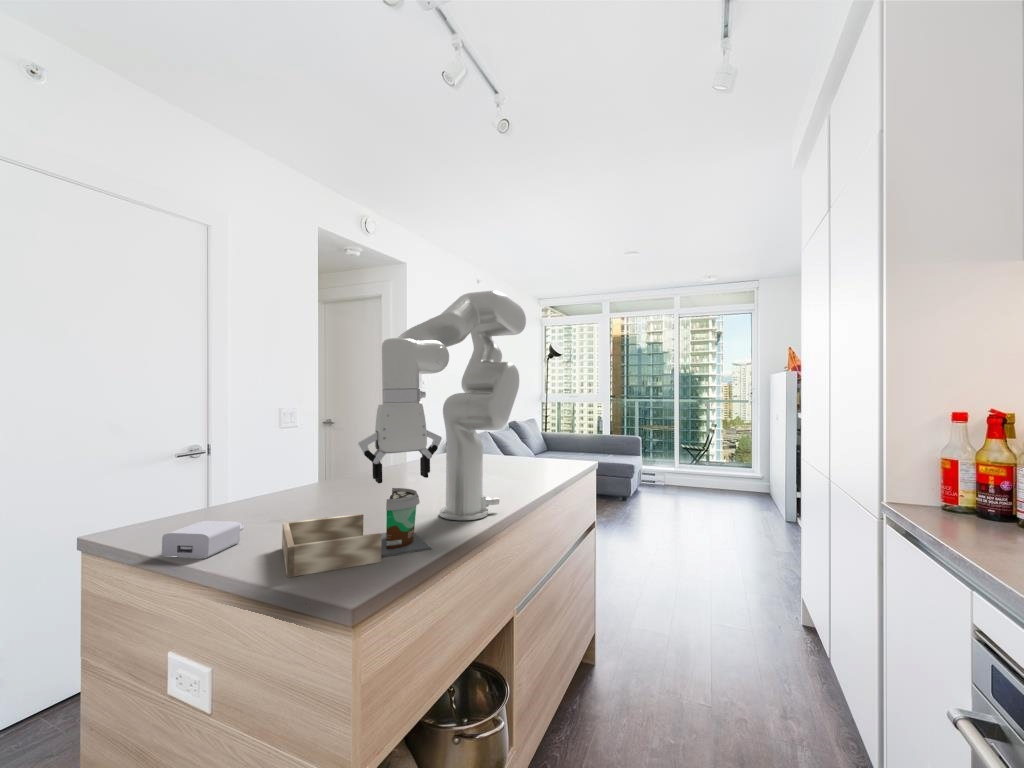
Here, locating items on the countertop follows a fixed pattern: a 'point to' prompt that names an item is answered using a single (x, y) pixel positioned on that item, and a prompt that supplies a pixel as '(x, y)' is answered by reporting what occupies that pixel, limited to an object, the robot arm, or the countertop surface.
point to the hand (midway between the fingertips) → (402, 479)
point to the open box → (328, 545)
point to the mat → (414, 546)
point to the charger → (201, 539)
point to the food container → (401, 517)
